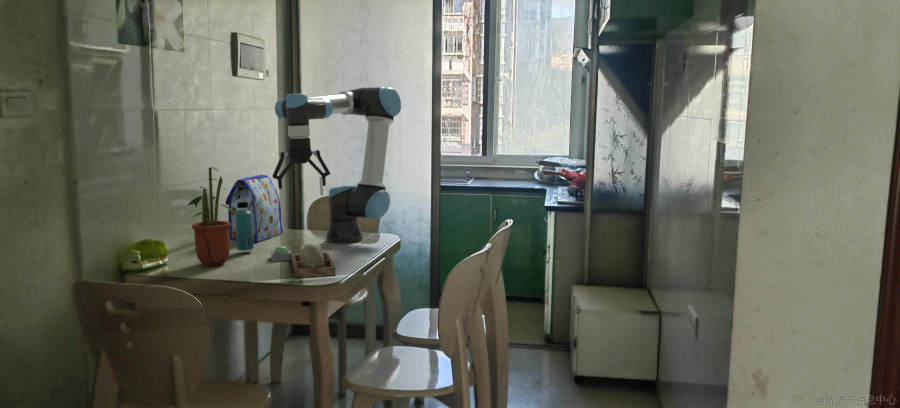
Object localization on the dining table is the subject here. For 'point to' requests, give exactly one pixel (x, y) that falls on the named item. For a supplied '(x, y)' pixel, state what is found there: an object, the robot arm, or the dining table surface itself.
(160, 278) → the dining table surface
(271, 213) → the lunch bag
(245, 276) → the dining table surface
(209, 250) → the potted plant
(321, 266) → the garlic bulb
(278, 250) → the button
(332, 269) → the brown wooden tray
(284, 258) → the button box
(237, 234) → the beverage bottle
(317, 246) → the block
